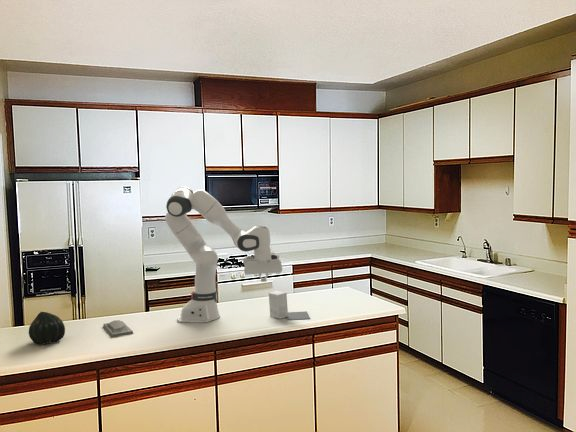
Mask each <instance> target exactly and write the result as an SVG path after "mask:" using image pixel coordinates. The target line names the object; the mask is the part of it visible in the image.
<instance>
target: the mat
mask: <svg viewBox="0 0 576 432" xmlns="http://www.w3.org/2000/svg"><path fill="white" fill-rule="evenodd" d="M286 319H287V321H296V320H297V321H298V320H311V317H310V315H309V313H308V311H288V316H287V317H286Z"/></svg>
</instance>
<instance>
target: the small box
mask: <svg viewBox="0 0 576 432" xmlns="http://www.w3.org/2000/svg"><path fill="white" fill-rule="evenodd" d="M287 294H288V293H287V292H285V291H280V290H274V291H271V292H268V303H269V316H270V317H272V318H276V319H280V320H281V319H283V318H287V316H288V312H289V310H288V296H287Z"/></svg>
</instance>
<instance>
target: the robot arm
mask: <svg viewBox="0 0 576 432" xmlns="http://www.w3.org/2000/svg"><path fill="white" fill-rule="evenodd" d="M165 208H166V211H167V212H166V214H165V216H164V219H165V220H164V221H165V222H166V224H167V226H168V228H169V229H170V231H171V232H172V234H173V235H174V236H175V238H176V239H177V240H178V241H179V243H181V245H182V247H183V248H184V249H185V251H186V252H187V254H188V255H189V257H190V258H191V260H192V261H193V262H194V263H195V274H194V275H195V276H194V291H193V290H192V291H191V292H190V297H191V299H190V300H189V301H188V302H187V303H186V304H184V305H183V307H182V309H181V312H180V314H178V316H177V317H176V318H177V322H178V323H208V322H211V321H214V320H217V319H219V318H221V315H220V312H219V308H218V302H217V301H218V291H217V288H216V287H217V286H216V283H217V282H216V279H217V278H216V274H217V267H218V261H219V257H218V254H217V252H216V250H215V249H213V248H212V247H210V246H209V245H208V244H207V242H206V241H205V239H204V238H203V236H202V235H201V233H200V231H199V230H198V229H197V227H196V226H195V225H194V223H193V222H192V220H191V219H190V218H189V217H188V215H187V214H188V213H189V212H191V211H192V210H193V211H194V210H195V211H197V212H198V213H199V214H200V215H201V217H203V219H205V220H206V221H208V222H209V223H211V224H212V225H216V226H218V227H220V228H221V230H223V231H224V232H226V234H228V235H229V236H230V238H231V239H232V241H233V244H234V246H235V247H236V248H238V249H239V250H240V251H241V252H251V251H253V256H245V257H244V258H243V259H242V261H243V265H244V268H243V269H244V271H243V272H244V274H245V275H247V276H248V275H258V277H259V279H260V282H261V283H264V282H267V279H268V276H269V274H277V273H280V274H281V273H282V272H283V265H282V262H281V260H280V255H279V253H276V252H273V251H271V233H270V229H269V228H268V227H266V226H263V225H255V226H253V227H252V228H251V229H249V230H248V231H246V230H245V229H244V230H243V229H241V228H239V226H237V225H236V224H235V223H234V222H233V221H232V220H231V219H230V218H229V216H228V215H227V211H226V209H225V207H224V205H222V204H221V203H220V202H219V201H218V200H217V198H215V197H214V196H213V195H211V194H210V193H209V192H207V191H206V190H205V189H198V190H195V191H193V190H192V188H190V187H188V186H181V187H178V188H177V189H176V190H175V191H174V192H172V194H171V196H170V197H169V198H168V199H167V202H166V207H165ZM263 274H265V277H262V275H263Z"/></svg>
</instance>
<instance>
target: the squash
mask: <svg viewBox="0 0 576 432" xmlns="http://www.w3.org/2000/svg"><path fill="white" fill-rule="evenodd" d="M65 326H66V325H65V324H64V321H63V319H61V318H60V316H58V315H56V314H52V313H51V312H46V311H40V312H39V313H38V314H37V316H36V317H35V318H34V319H33V321H32V322H31V324H30V325H29V328H28V336H29V338H30V340H31V341H32V342H33V343H34V344H37V345H42V346H43V345H46V344H48V343H51V342H52V341H53V342H58V341H59V342H60V340H62V339H63V338H64V336H65V333H66V327H65Z"/></svg>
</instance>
